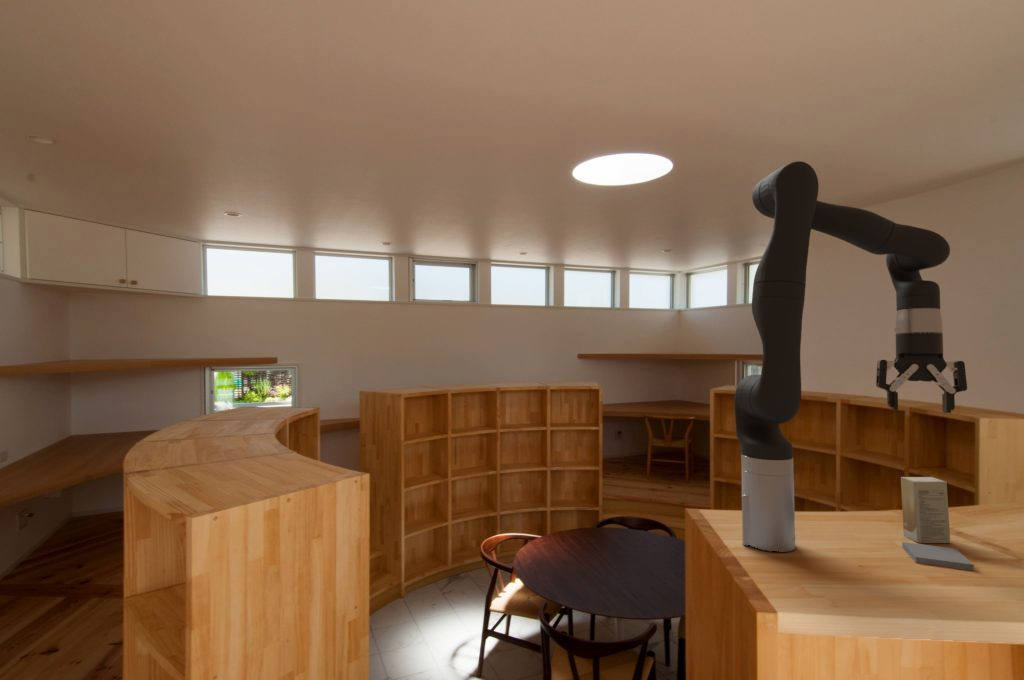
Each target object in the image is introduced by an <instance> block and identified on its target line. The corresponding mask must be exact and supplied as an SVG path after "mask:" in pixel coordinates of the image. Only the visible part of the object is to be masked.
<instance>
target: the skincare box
mask: <svg viewBox="0 0 1024 680" xmlns="http://www.w3.org/2000/svg"><path fill="white" fill-rule="evenodd" d="M900 486H901V487H900V489H901V503H902V504H901V506H902V507H901V508H902V511H901V512H902V525H903V526H902V528H903V536H904V537H905V538H908V539H910V540H912V541H914V542H916V543H917V544H951V534H950V533H951V532H950V516H949V515H950V514H949V501H948V500H949V499H948V484H947V481H945V480H942V479H940V478H939V479H938V478H936V477H933V476H901V477H900Z"/></svg>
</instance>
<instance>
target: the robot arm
mask: <svg viewBox="0 0 1024 680" xmlns="http://www.w3.org/2000/svg"><path fill="white" fill-rule="evenodd" d="M819 188H820V186H819V179H818V175H817V173H816V171H815V169H814V168H813V167H812V166H811V165H810V164H808V162H805V161H799V160H798V161H797V160H796V161H792V162H789V163H787V164H784V165H783V166H781V167H779V168H778V169H776V170H773V172H771V173H769V174H768V175H766V176H764V177H763V178H762V179H760V181H758V182H757V184H756V185H755V186H754V188H753V190H752V194H751V199H752V200H751V201H752V203H753V205H754V207H755V209H756V210H757V211H758V212H759V214H761V215H763V216H765V217H767V218H770V219H772V220H773V221H774V222H773V228H772V233H771V236H770V240H769V242H767V243H768V244H767V246H766V248H765V250H764V253H763V254H762V256H761V258H760V261H759V264H758V265H757V268H756V271H755V272H754V273H755V274H754V278H753V285H752V296H751V312H752V317H753V320H754V323H755V326H756V328H757V330H758V334H759V337H760V340H761V345H762V365H761V372H760V374H750V375H748V376H746V377H744V378H742V379H741V380H740V381H739V382H738V383H737V384H738V385H736V388H735V392H734V400H733V401H734V402H733V403H734V405H733V406H734V417H735V418H734V420H735V431H736V432H735V434H736V438H737V441H738V443H739V445H740V457H741V458H740V460H741V461H740V462H741V463H740V465H741V466H740V467H741V519H742V520H741V521H742V523H741V526H742V527H741V529H742V545H743V546H748V545H750V546H749V547H752V548H754V547H755V548H754V549H757V548H758V550H760V551H761V550H762V551H766V550H767V552H772V551H777V552H776V553H785V552H786V553H788V552H792V551H794V550H795V549H796V521H795V519H796V517H795V479H794V477H795V476H794V446H793V444H792V442H790V440H788V439H787V438H786V436H784V434H783V433H782V431H781V428H780V425H781V424H786V423H788V422H790V421H792V420H793V419H794V418H795V417H796V415H797V414H798V413H799V410H800V408H801V403H802V372H801V371H802V370H801V369H802V368H801V367H802V366H801V347H802V346H801V345H802V344H801V343H802V331H803V330H802V329H803V328H802V327H803V315H804V314H803V313H804V307H805V299H806V296H805V295H806V285H807V267H808V266H807V265H808V260H809V259H808V257H809V250H810V249H809V248H810V239H811V238H810V237H811V231H812V230H813V231H817V232H820V233H822V234H826V235H829V236H831V237H833V238H837V239H839V240H841V241H844V242H846V243H848V244H851V245H853V246H854V247H857V248H859V249H861V250H863V251H865V252H868V253H870V254H874V255H876V256H879V255H880V256H882V255H883V256H885V255H886V258H885V260H886V261H885V262H886V267H887V271H888V274H889V276H890V279H891V282H892V285H893V287H894V291H895V293H896V295H895V297H896V301H895V304H896V306H895V307H896V315H895V325H894V332H895V333H894V334H895V358H894V360H886V359H879V360H877V362H876V379H875V381H876V382H875V386H876V388H878V389H881V390H884V391H885V392H886V402H887V403H886V404H887V407H889V408H890V410H892V411H898V410H899V393H898V392H897V390H898V389H899V388H900V387H902V385H904V383H905V382H906V381H908V382H918V381H919V382H929V383H931V382H933V383H934V384H935V385H936V386H938V388H939V389H940V390H941V391H942V392H943V393H941V397H942V398H941V400H942V401H941V402H942V403H941V404H942V406H941V407H942V412H943V413H946V414H952V411H954V410H955V408H956V406H955V405H956V404H955V403H956V402H955V395H956V394H957V393H961V392H965V391H967V390H968V383H967V375H966V374H967V373H966V365H965V362H964V361H963V360H954V361H946V360H945V358H944V333H943V330H944V329H943V317H942V316H943V315H942V313H941V311H942V310H941V291H940V289H941V288H940V286H939V283H938V282H936V281H933V280H927V279H926V280H923V278H922V275H921V272H920V271H923V270H926V269H931V268H935V267H938V266H939V265H940V266H941V265H942V264H943V263H945V262H946V260H947V259H948V258H949V255H950V253H951V248H950V244H949V242H948V241H947V239H946V238H945V237H943V236H942V235H941V234H939V233H937V232H936V231H934V230H929V229H926V228H923V227H922V228H921V227H916V226H913V225H908V224H901V223H898V222H897V223H896V222H894V221H892V220H890V219H889V218H886V217H883V216H882V215H879V214H878V213H875V212H873V211H869V210H868V209H863V208H858V207H853V206H848V205H846V206H845V205H840V204H834V203H828V202H823V201H820V200H818V196H819ZM892 367H894V368H895V369H896V371H897V372H898V373H897V375H896V376H895V377H894V378H893V379H892V381H890V383H887V377H888V376H887V374H888V371H890V370H891V368H892ZM946 368H948V370H949V372H952V379H953V385H951V383H950V382H949V380H948V379H946V377H945V376H944V375H943V374H942V372H944V370H945V369H946ZM778 551H779V552H778Z"/></svg>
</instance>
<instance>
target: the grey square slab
mask: <svg viewBox="0 0 1024 680" xmlns="http://www.w3.org/2000/svg"><path fill="white" fill-rule="evenodd" d="M901 545H902V546H901V547H902V548H903V550H904V551H905V552H906V553H907V555H908V556H910V558H911V559H912V560H913V561H914V563H917V564H924V565H930V566H937V567H938V566H939V567H945V568H953V569H958V570H959V569H961V570H966V571H975V568H974V567H975V564H974V563H973V562H972V561H970V560H969V559H968V558H967V557H966V556H964V555H963V554H962V553H961V552H960V551H959V550H958V549H956V548H955V547H954V548H953V547H945V546H944V547H943V546H937V545H929V544H928V545H927V544H923V543H913V542H906V541H905V542H904V541H902V542H901Z"/></svg>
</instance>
